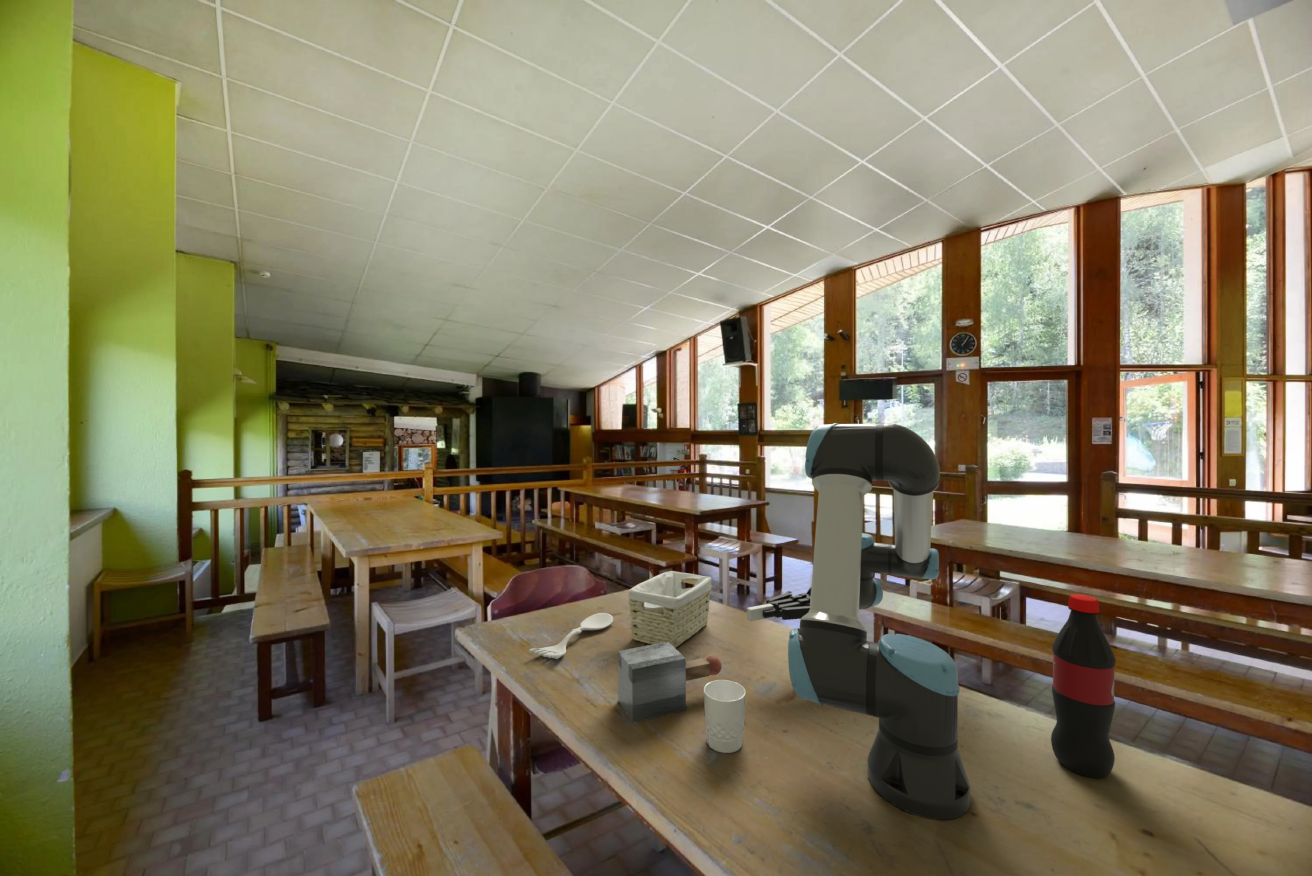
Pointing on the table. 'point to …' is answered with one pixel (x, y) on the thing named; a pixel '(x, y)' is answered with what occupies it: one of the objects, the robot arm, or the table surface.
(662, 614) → the storage basket
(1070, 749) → the cola bottle
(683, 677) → the block
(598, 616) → the white plastic spork
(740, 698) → the white cup
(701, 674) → the plunger
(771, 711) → the table surface
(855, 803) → the table surface
